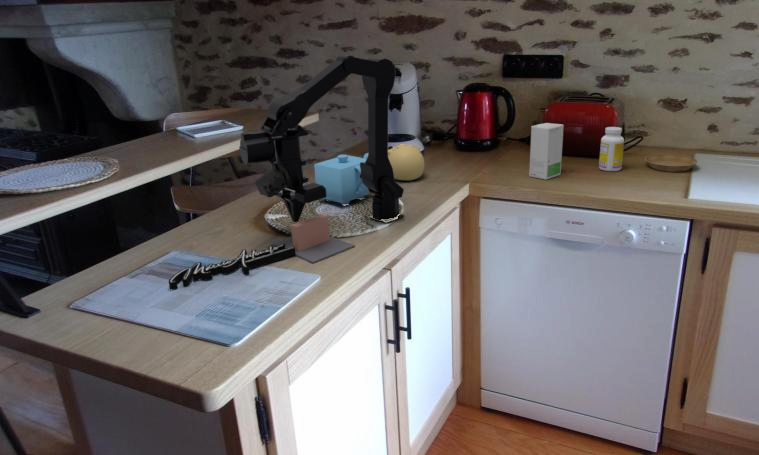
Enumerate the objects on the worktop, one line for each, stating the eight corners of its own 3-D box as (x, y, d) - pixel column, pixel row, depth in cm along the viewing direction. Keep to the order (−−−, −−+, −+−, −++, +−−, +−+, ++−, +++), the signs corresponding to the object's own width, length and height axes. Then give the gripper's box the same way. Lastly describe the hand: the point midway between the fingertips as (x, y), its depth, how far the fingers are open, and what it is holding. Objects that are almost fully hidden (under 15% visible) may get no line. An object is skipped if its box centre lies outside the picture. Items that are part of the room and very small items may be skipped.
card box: (324, 237, 138) (322, 214, 136) (329, 240, 136) (327, 216, 134) (293, 249, 132) (290, 224, 130) (298, 251, 131) (296, 226, 129)
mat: (312, 230, 144) (311, 228, 144) (354, 246, 133) (354, 245, 133) (271, 245, 136) (271, 243, 136) (313, 263, 125) (313, 262, 125)
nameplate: (175, 290, 113) (160, 273, 121) (176, 297, 114) (162, 279, 121) (300, 250, 127) (280, 238, 135) (301, 257, 128) (281, 244, 136)
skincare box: (545, 180, 173) (548, 128, 168) (527, 176, 178) (529, 126, 172) (561, 174, 178) (565, 124, 173) (543, 170, 183) (545, 121, 178)
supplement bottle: (622, 167, 183) (626, 126, 178) (619, 172, 177) (624, 131, 173) (600, 165, 186) (603, 125, 181) (596, 171, 180) (600, 129, 176)
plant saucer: (646, 173, 177) (647, 164, 176) (641, 160, 190) (642, 152, 189) (700, 175, 172) (701, 166, 171) (692, 162, 185) (693, 154, 184)
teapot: (349, 211, 156) (346, 164, 152) (311, 200, 166) (307, 156, 162) (393, 193, 168) (392, 150, 164) (355, 184, 178) (353, 143, 174)
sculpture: (416, 171, 189) (415, 138, 186) (430, 180, 179) (429, 146, 175) (382, 175, 186) (381, 142, 182) (394, 185, 176) (393, 150, 172)
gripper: (236, 158, 133) (245, 222, 138) (282, 171, 120) (290, 241, 126) (276, 148, 140) (283, 209, 145) (325, 160, 127) (330, 227, 133)
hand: (295, 221), depth 137 cm, fingers closed
